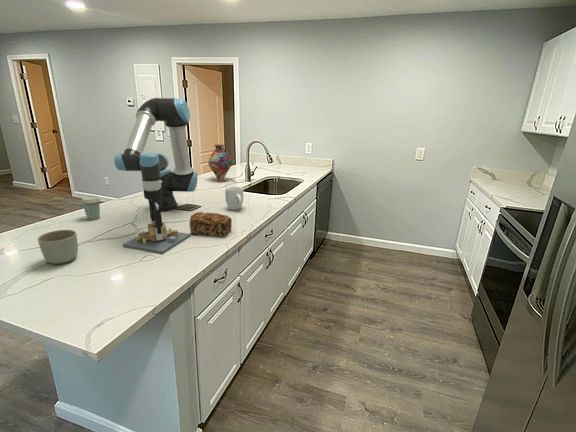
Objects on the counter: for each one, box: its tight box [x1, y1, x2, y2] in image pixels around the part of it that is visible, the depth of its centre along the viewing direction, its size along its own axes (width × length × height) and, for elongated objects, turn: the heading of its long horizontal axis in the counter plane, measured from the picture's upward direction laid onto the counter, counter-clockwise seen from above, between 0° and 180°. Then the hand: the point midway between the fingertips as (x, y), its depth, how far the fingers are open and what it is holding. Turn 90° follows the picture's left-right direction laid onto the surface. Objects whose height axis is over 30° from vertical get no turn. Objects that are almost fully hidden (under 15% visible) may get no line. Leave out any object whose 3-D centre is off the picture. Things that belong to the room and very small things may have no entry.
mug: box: [224, 186, 244, 211], centre depth 194 cm, size 15×11×13 cm
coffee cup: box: [81, 195, 101, 221], centre depth 172 cm, size 8×8×12 cm
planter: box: [37, 229, 79, 265], centre depth 126 cm, size 12×12×11 cm
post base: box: [122, 227, 192, 255], centre depth 147 cm, size 21×21×6 cm
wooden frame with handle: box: [135, 221, 179, 242], centre depth 146 cm, size 18×7×6 cm, turn 121°
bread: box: [189, 211, 232, 237], centre depth 159 cm, size 19×11×10 cm, turn 81°
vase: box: [207, 144, 233, 183], centre depth 262 cm, size 19×19×30 cm
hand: (157, 236), depth 147 cm, fingers closed on wooden frame with handle, 7 cm apart
